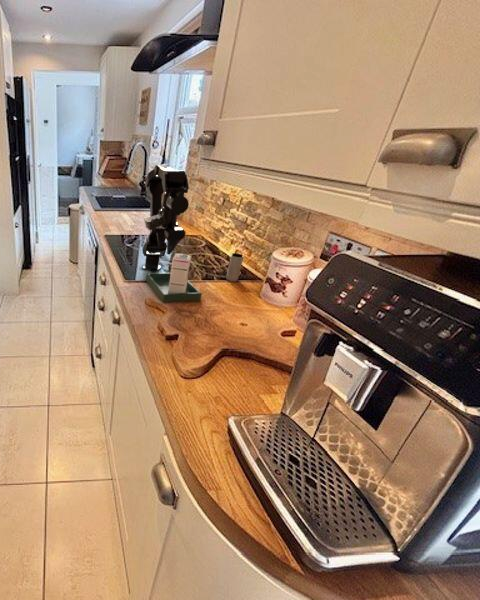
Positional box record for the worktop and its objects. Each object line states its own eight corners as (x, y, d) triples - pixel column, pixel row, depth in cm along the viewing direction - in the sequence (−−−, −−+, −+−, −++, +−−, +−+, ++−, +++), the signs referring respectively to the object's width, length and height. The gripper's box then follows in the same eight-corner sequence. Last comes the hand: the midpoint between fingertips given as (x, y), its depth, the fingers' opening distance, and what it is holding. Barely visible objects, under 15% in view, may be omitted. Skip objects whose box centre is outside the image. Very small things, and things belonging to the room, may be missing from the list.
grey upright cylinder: (225, 280, 131) (230, 255, 127) (226, 276, 135) (231, 252, 130) (237, 282, 130) (243, 257, 125) (238, 278, 133) (244, 254, 129)
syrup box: (183, 299, 114) (191, 259, 107) (166, 296, 116) (172, 257, 109) (185, 292, 118) (192, 254, 112) (169, 290, 120) (175, 252, 114)
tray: (145, 280, 130) (146, 273, 128) (177, 279, 131) (179, 272, 130) (163, 302, 112) (164, 294, 111) (200, 300, 114) (201, 293, 113)
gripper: (140, 203, 123) (136, 243, 130) (157, 213, 106) (151, 259, 113) (168, 203, 124) (163, 243, 131) (189, 213, 108) (182, 258, 115)
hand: (164, 250), depth 122 cm, fingers open, 9 cm apart
